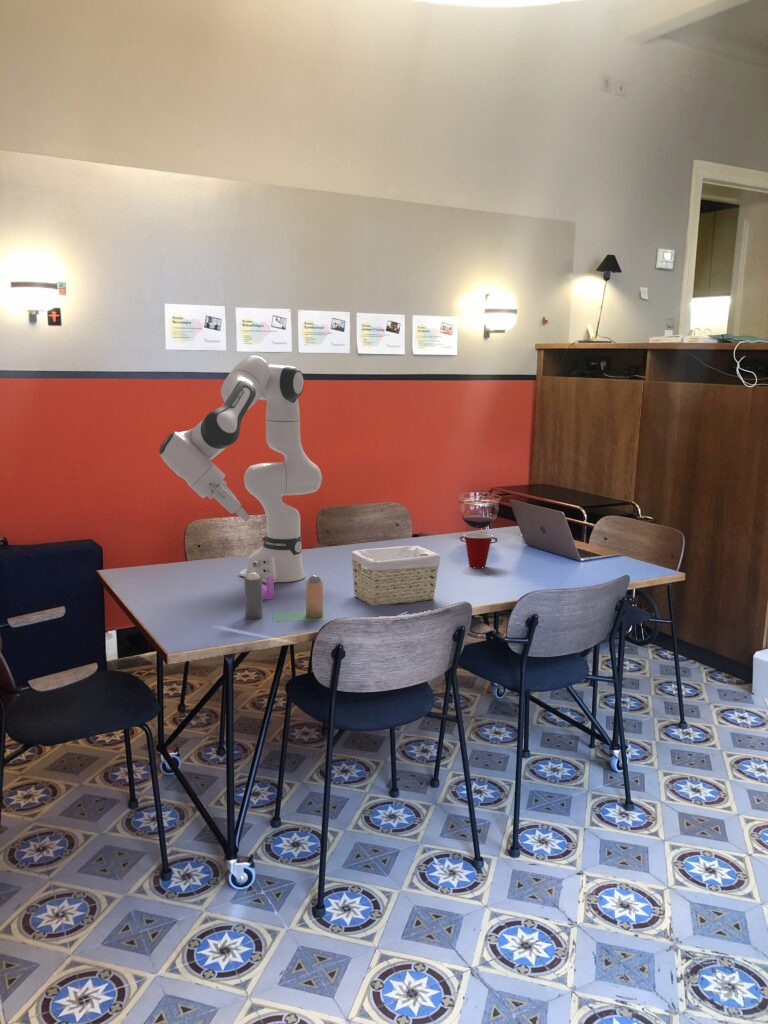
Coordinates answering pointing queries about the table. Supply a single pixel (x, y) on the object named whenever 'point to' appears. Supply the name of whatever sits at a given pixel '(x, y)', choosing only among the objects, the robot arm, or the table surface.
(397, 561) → the storage basket
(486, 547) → the plastic cup
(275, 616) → the green card
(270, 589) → the bracket
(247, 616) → the charcoal tube
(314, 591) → the orange cylinder
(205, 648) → the table surface
